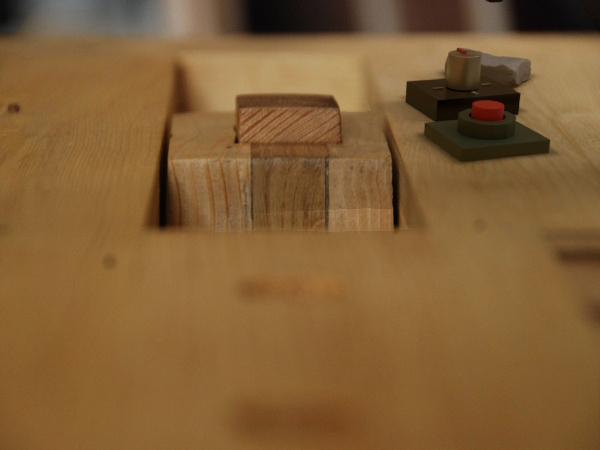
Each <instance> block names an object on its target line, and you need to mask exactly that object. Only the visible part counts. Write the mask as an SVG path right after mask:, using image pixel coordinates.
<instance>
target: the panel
mask: <svg viewBox="0 0 600 450" xmlns="http://www.w3.org/2000/svg"><path fill="white" fill-rule="evenodd" d="M481 100H489V101H496V102H500V103H502V104H504V111H507V112H509V113H511V114H513V115H515V116H518V115H519V113H520V112H519V111H520V102H521V92H519V91H518V90H516V89H514V88H509V87H507V86H505V85H503V84H501V83H499V82H497V81H495V80H493V79H491V78H488V77H486V76H484V75H483V76H480V80H479V88H478V89H476V90H470V91H460V90H453V89H450V88H447V87H446V77H444V78H431V79H419V80H406V83H405V103H406V104H407V105H409V106H411V107H412V108H414V109H416V111H418V112H420V113H421V114H423V115H424V116H426V117H427V118H429V119H430V120H432V122H438V121H449V120H458V115H459V112H461V111H464V110H467V109H472V104H473V102H476V101H481Z"/></svg>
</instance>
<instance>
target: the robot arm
mask: <svg viewBox="0 0 600 450" xmlns="http://www.w3.org/2000/svg"><path fill="white" fill-rule="evenodd" d="M485 1H486V2H487V3H491V4H492V3H493V4H494V3H502V2H503V1H504V0H485Z"/></svg>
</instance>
